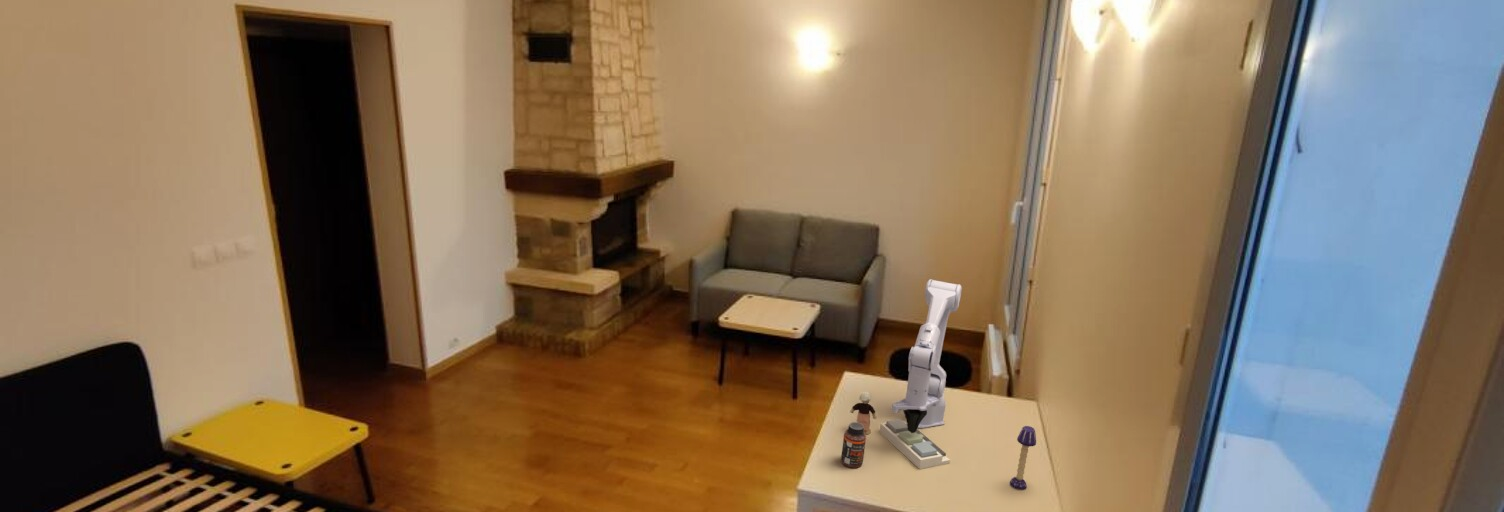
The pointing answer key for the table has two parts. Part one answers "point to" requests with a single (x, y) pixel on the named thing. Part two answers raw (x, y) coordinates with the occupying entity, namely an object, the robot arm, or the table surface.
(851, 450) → the supplement bottle
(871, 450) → the table surface
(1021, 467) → the toy lamp
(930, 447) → the slate key
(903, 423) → the grey key
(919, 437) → the sage key
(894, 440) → the keypad
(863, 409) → the grandmother figurine
